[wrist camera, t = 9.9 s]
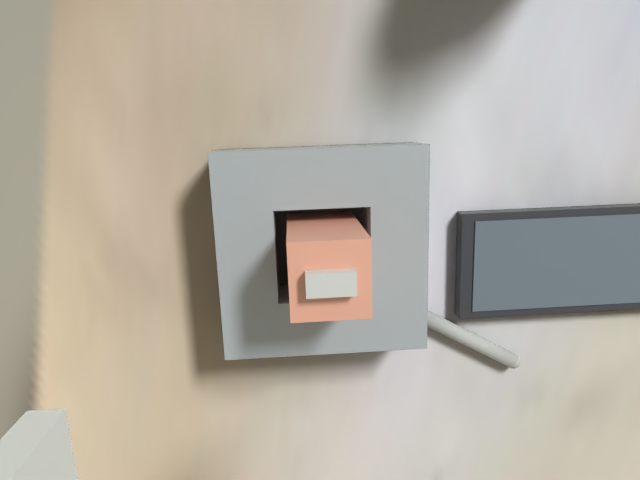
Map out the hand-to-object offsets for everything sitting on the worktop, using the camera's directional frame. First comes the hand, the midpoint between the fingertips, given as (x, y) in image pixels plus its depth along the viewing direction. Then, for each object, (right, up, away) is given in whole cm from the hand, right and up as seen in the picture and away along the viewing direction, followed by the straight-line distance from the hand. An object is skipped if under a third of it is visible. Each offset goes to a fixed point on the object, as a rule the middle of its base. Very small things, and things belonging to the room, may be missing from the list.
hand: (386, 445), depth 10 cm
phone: (+15, +3, +22) cm, 27 cm away
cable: (+8, -2, +23) cm, 25 cm away
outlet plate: (-1, +4, +21) cm, 22 cm away
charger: (-1, +4, +21) cm, 21 cm away
